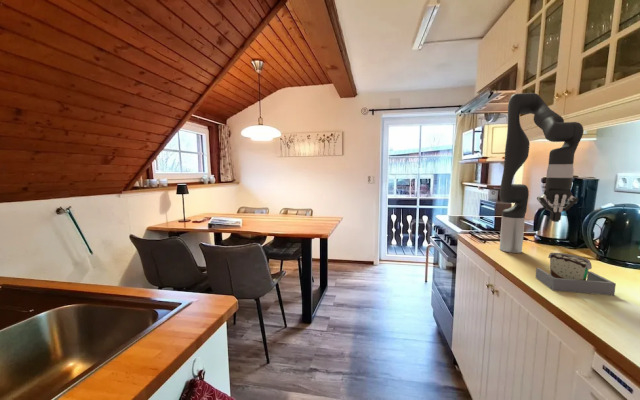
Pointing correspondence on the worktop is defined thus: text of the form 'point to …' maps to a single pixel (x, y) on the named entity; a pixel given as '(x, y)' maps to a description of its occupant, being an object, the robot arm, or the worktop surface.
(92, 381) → the worktop surface
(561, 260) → the food container
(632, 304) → the worktop surface
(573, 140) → the robot arm
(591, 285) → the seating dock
